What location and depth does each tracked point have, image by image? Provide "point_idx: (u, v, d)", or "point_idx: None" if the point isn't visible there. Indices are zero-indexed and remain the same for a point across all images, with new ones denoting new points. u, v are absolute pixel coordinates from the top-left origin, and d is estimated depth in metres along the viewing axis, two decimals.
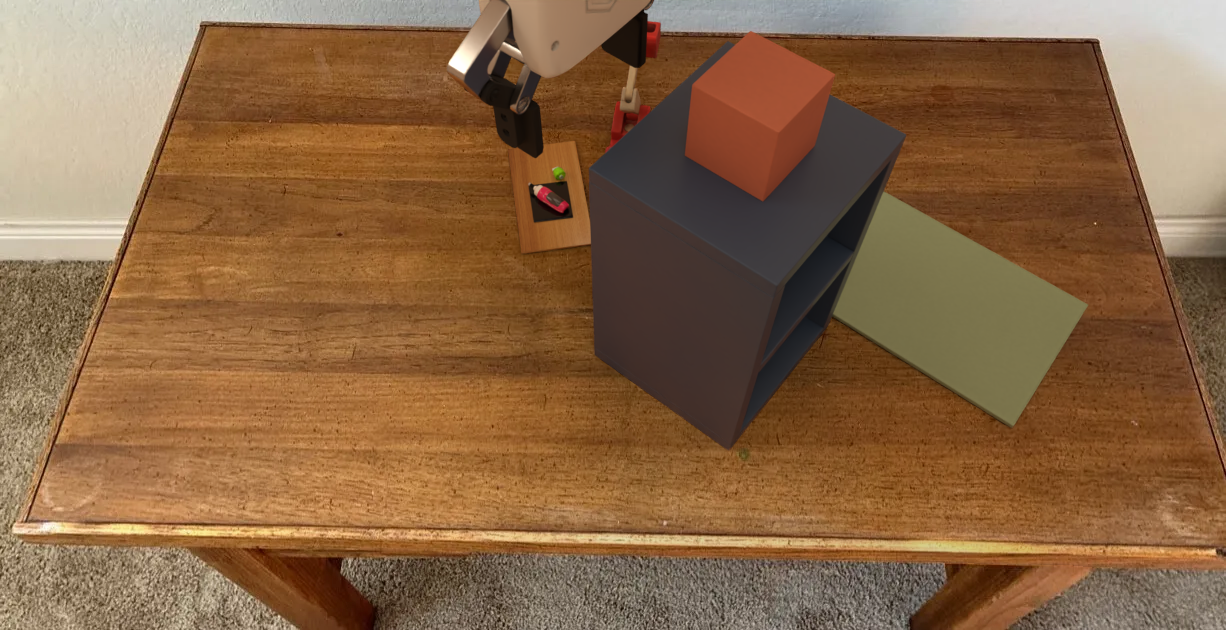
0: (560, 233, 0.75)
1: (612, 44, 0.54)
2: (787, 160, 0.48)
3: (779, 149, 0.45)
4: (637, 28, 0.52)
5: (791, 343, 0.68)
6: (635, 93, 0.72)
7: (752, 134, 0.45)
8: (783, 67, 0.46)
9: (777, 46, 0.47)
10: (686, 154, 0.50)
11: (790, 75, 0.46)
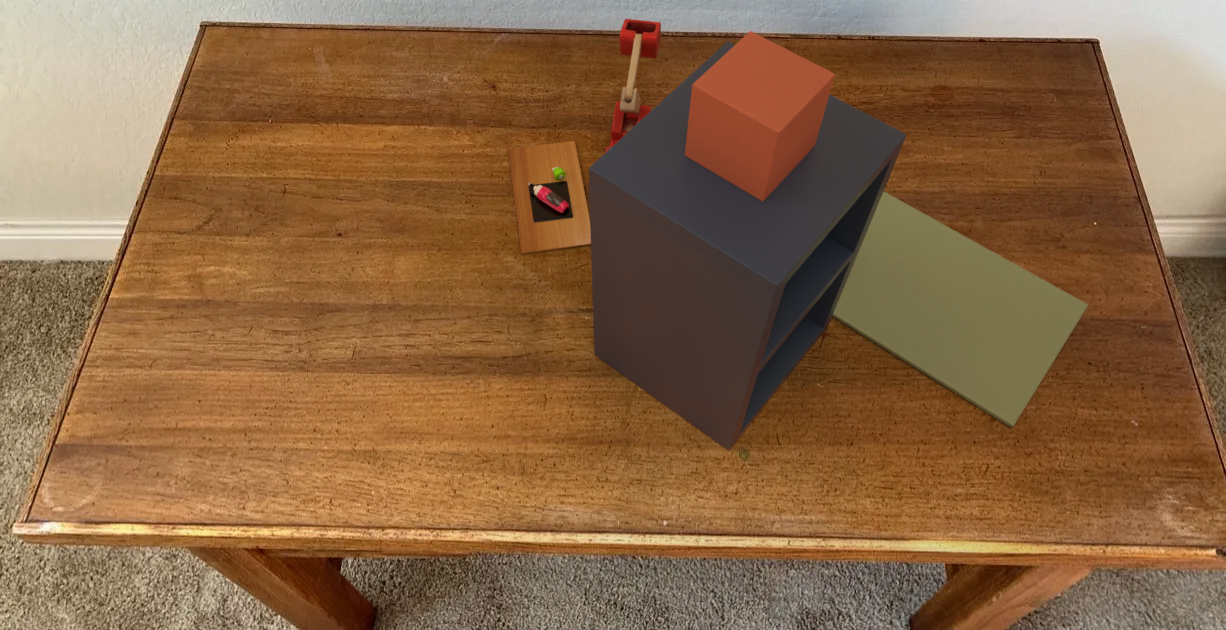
0: (560, 233, 0.75)
1: None
2: (787, 160, 0.48)
3: (779, 149, 0.45)
4: None
5: (791, 343, 0.68)
6: (635, 93, 0.72)
7: (752, 134, 0.45)
8: (783, 67, 0.46)
9: (777, 46, 0.47)
10: (686, 154, 0.50)
11: (790, 75, 0.46)
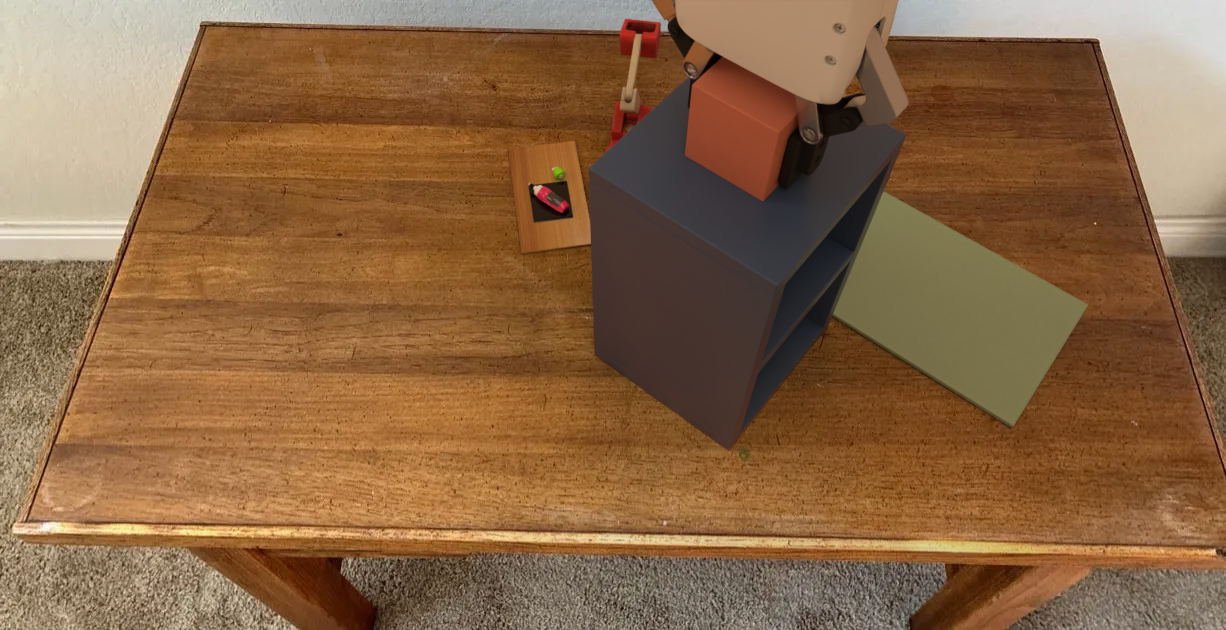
0: (560, 233, 0.75)
1: None
2: None
3: (779, 149, 0.45)
4: None
5: (791, 343, 0.68)
6: (635, 93, 0.72)
7: (752, 134, 0.45)
8: None
9: None
10: (686, 154, 0.50)
11: None
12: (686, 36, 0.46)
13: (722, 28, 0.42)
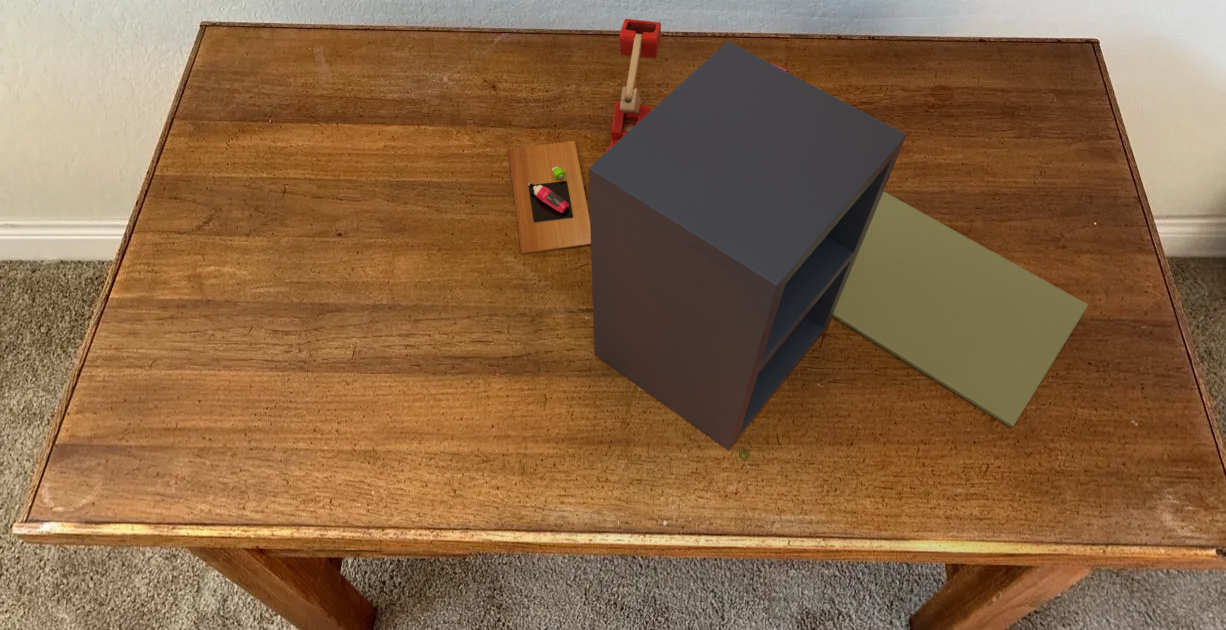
0: (560, 233, 0.75)
1: None
2: None
3: None
4: None
5: (791, 343, 0.68)
6: (635, 93, 0.72)
7: None
8: None
9: None
10: None
11: None
12: None
13: None
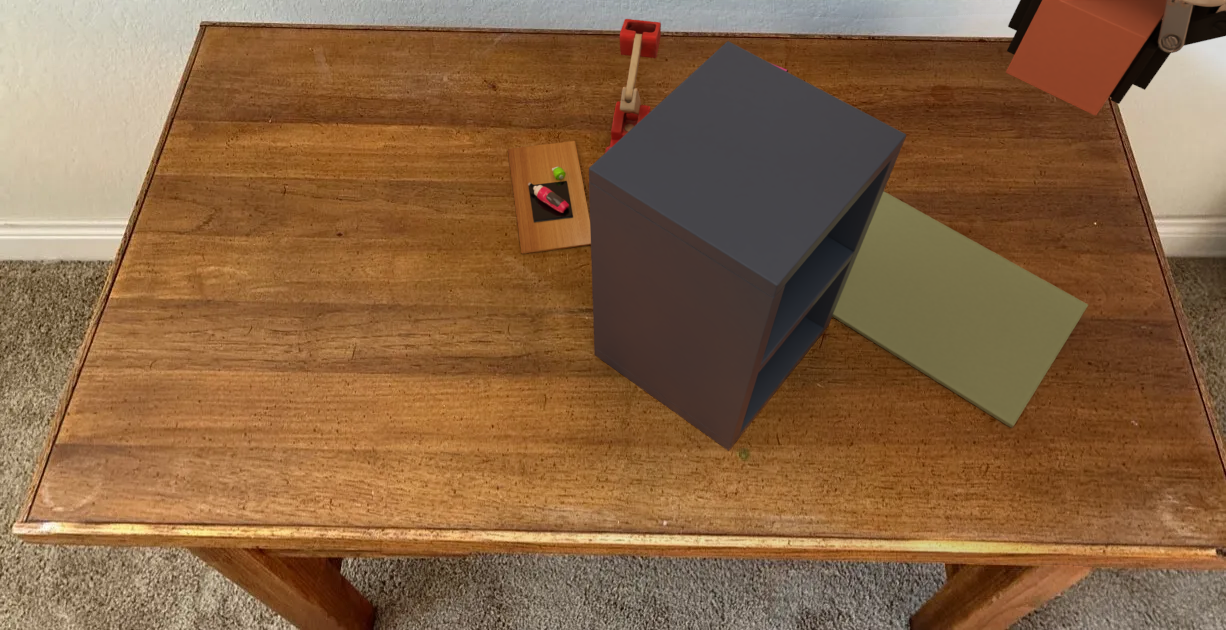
0: (560, 233, 0.75)
1: None
2: None
3: None
4: None
5: (791, 343, 0.68)
6: (635, 93, 0.72)
7: (1109, 42, 0.45)
8: None
9: None
10: (1008, 71, 0.50)
11: None
12: None
13: None
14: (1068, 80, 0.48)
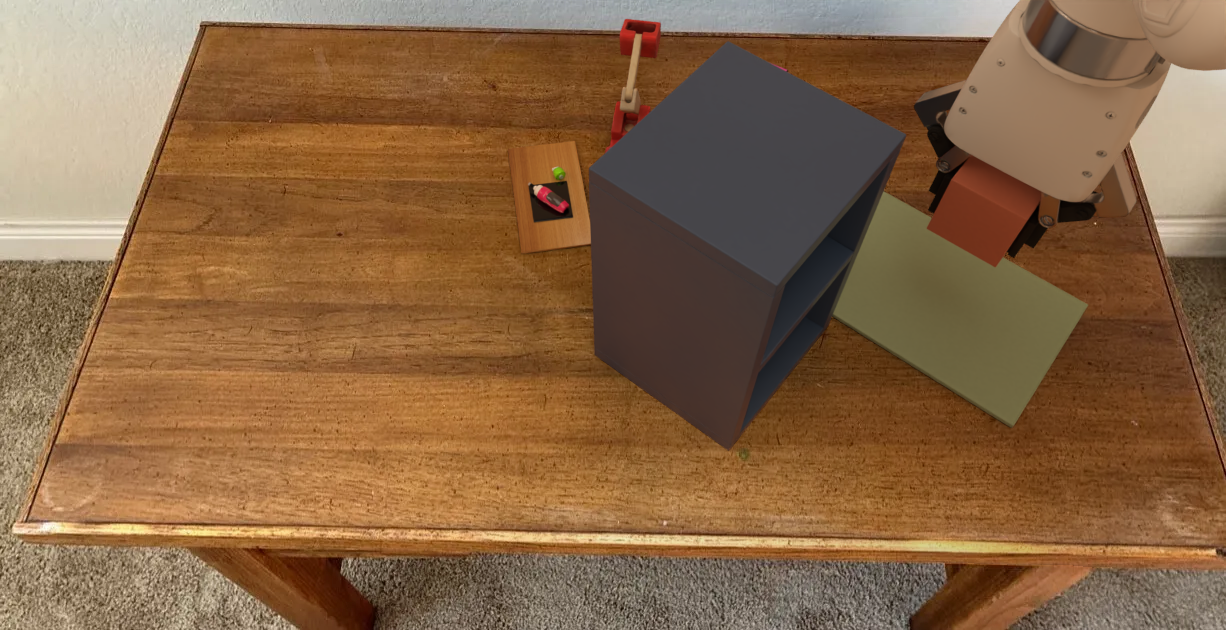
0: (560, 233, 0.75)
1: None
2: None
3: (1020, 230, 0.58)
4: None
5: (791, 343, 0.68)
6: (635, 93, 0.72)
7: (1000, 219, 0.58)
8: None
9: None
10: (928, 228, 0.63)
11: None
12: (944, 141, 0.59)
13: (991, 143, 0.55)
14: (973, 240, 0.61)
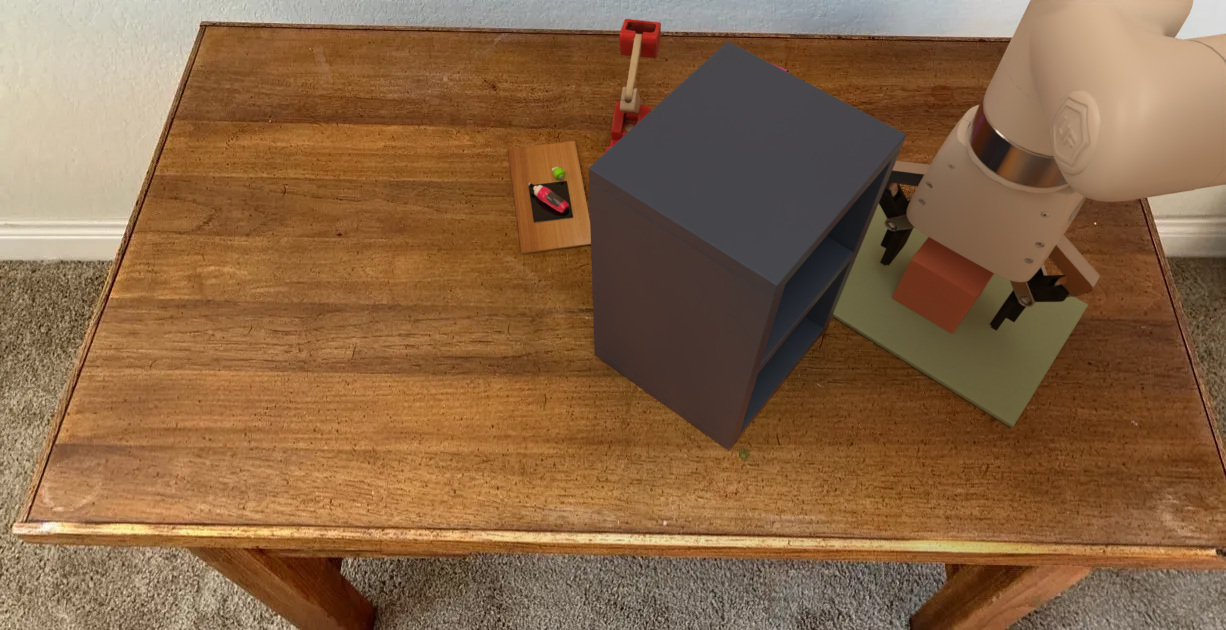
0: (560, 233, 0.75)
1: (896, 253, 0.70)
2: (971, 306, 0.68)
3: (972, 304, 0.66)
4: None
5: (791, 343, 0.68)
6: (635, 93, 0.72)
7: (954, 294, 0.66)
8: None
9: None
10: (893, 297, 0.71)
11: None
12: (891, 203, 0.66)
13: (946, 229, 0.62)
14: (932, 310, 0.69)
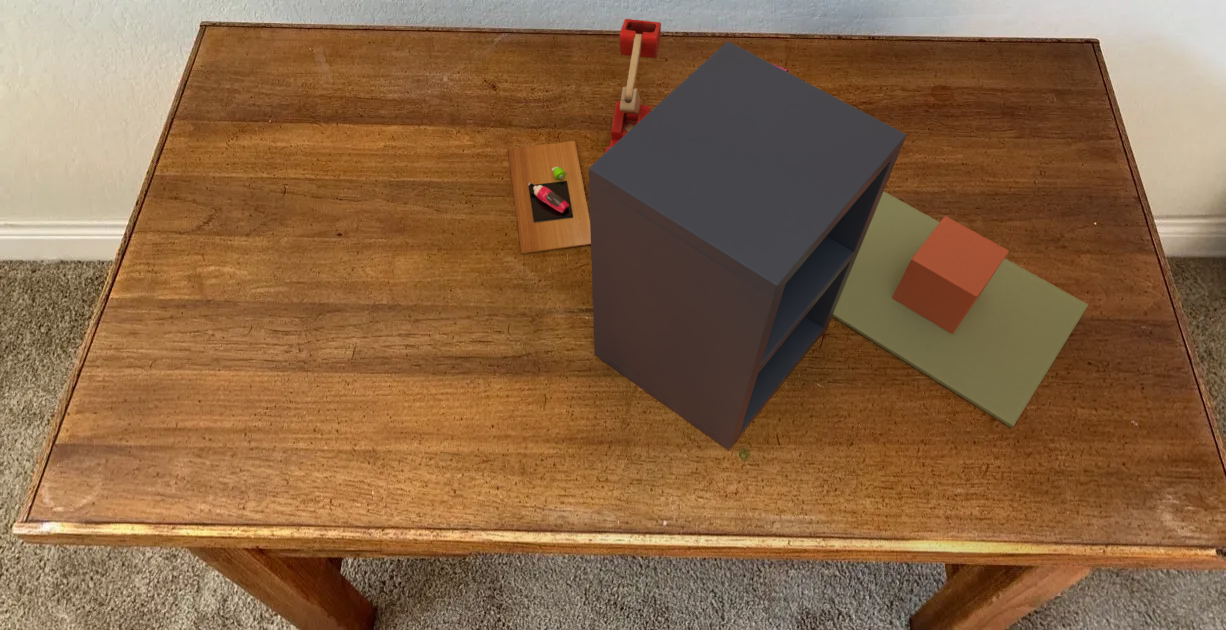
0: (560, 233, 0.75)
1: None
2: (971, 306, 0.68)
3: (972, 304, 0.66)
4: None
5: (791, 343, 0.68)
6: (635, 93, 0.72)
7: (954, 294, 0.66)
8: (972, 245, 0.67)
9: (965, 228, 0.68)
10: (893, 297, 0.71)
11: (978, 251, 0.67)
12: None
13: None
14: (932, 310, 0.69)
